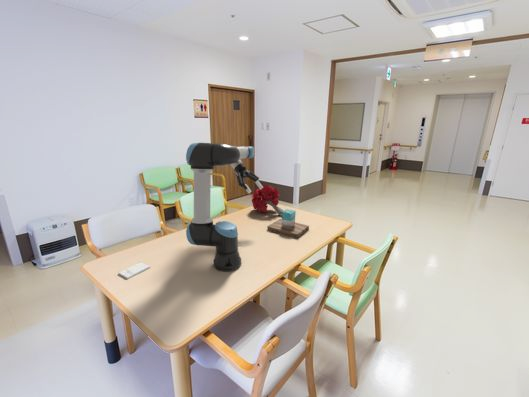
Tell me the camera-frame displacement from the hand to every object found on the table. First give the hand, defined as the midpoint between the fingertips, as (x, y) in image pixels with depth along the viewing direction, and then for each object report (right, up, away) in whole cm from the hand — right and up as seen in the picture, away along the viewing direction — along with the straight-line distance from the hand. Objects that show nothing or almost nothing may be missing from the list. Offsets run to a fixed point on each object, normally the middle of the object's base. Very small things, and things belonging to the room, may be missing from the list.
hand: (256, 190), depth 178 cm
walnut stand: (+23, -28, +11) cm, 38 cm away
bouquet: (+8, -17, +46) cm, 50 cm away
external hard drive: (-62, -44, -41) cm, 86 cm away
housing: (+23, -25, +10) cm, 35 cm away
